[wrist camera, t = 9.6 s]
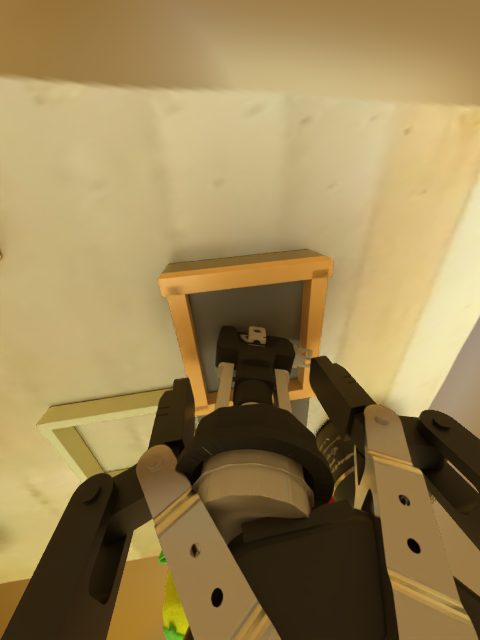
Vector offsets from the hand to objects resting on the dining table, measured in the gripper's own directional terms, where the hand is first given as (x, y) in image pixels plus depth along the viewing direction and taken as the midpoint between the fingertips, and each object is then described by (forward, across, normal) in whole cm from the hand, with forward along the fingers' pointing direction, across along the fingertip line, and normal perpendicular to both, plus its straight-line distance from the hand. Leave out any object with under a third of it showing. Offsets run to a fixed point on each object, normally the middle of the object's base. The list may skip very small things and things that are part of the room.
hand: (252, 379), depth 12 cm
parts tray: (+7, +11, +12) cm, 17 cm away
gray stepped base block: (+6, -1, +4) cm, 8 cm away
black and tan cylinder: (+3, -2, 0) cm, 4 cm away
